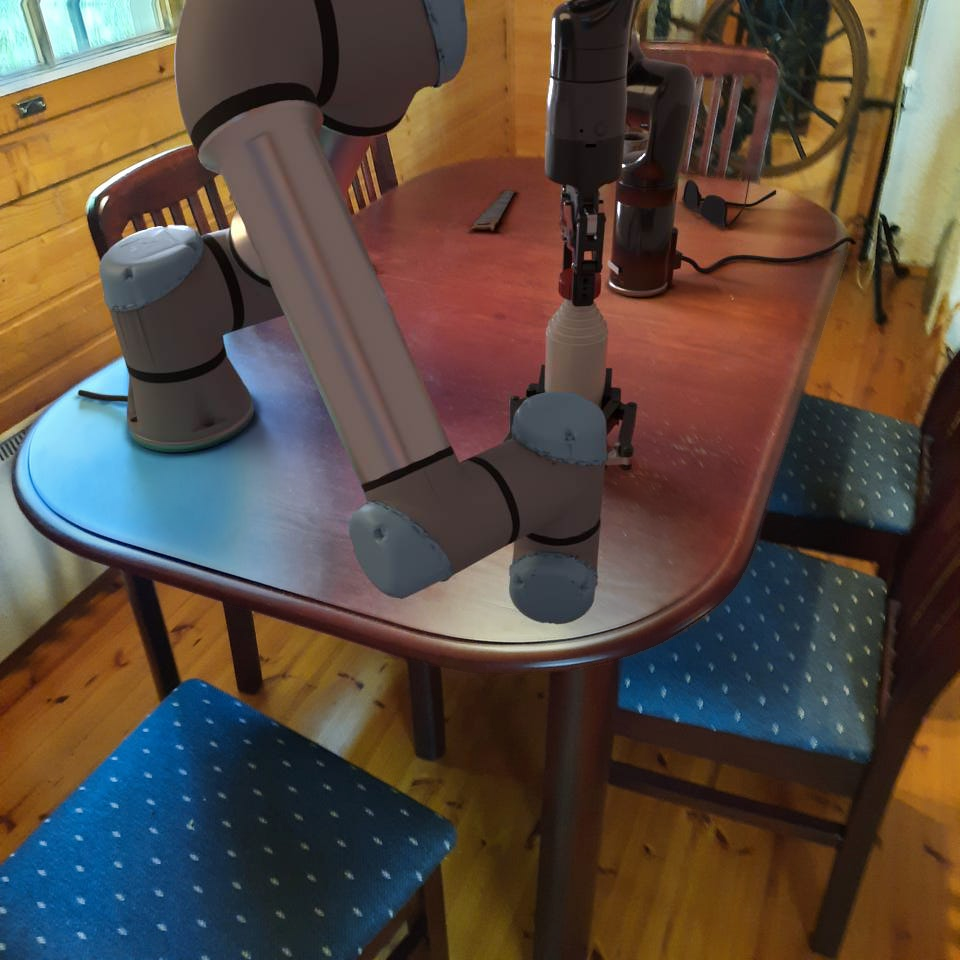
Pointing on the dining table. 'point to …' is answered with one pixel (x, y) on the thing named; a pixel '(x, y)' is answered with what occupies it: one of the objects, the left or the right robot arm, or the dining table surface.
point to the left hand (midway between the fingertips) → (576, 376)
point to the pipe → (635, 142)
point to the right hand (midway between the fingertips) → (577, 289)
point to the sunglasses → (714, 204)
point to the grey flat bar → (493, 213)
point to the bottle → (577, 352)
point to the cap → (566, 284)
